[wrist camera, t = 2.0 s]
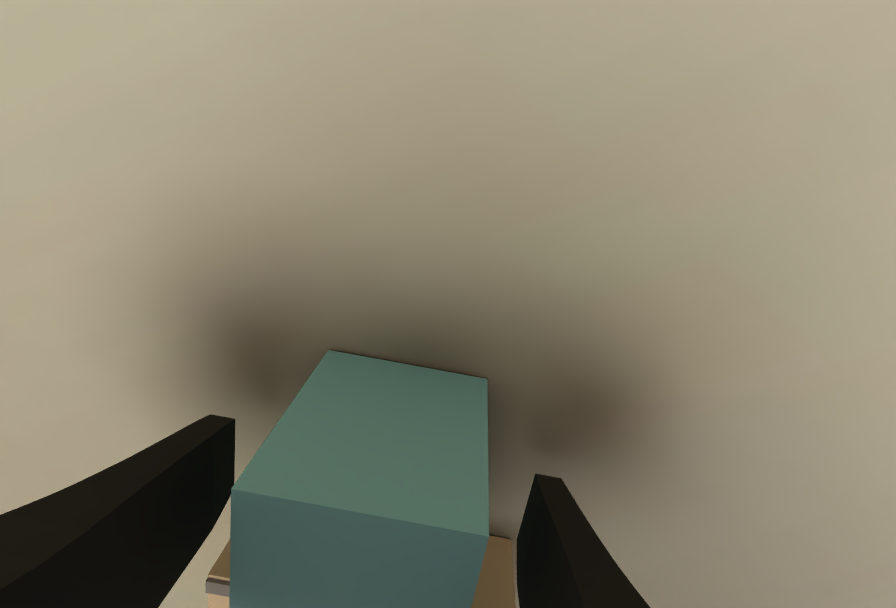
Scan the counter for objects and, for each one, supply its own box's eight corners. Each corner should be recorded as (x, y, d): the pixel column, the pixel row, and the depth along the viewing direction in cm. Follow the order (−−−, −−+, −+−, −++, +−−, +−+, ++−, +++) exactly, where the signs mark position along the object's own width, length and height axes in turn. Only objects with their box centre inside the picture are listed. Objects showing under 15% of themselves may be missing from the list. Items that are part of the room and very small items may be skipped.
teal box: (487, 379, 13) (489, 542, 8) (456, 521, 15) (440, 732, 10) (328, 349, 14) (227, 494, 8) (315, 495, 15) (224, 691, 10)
